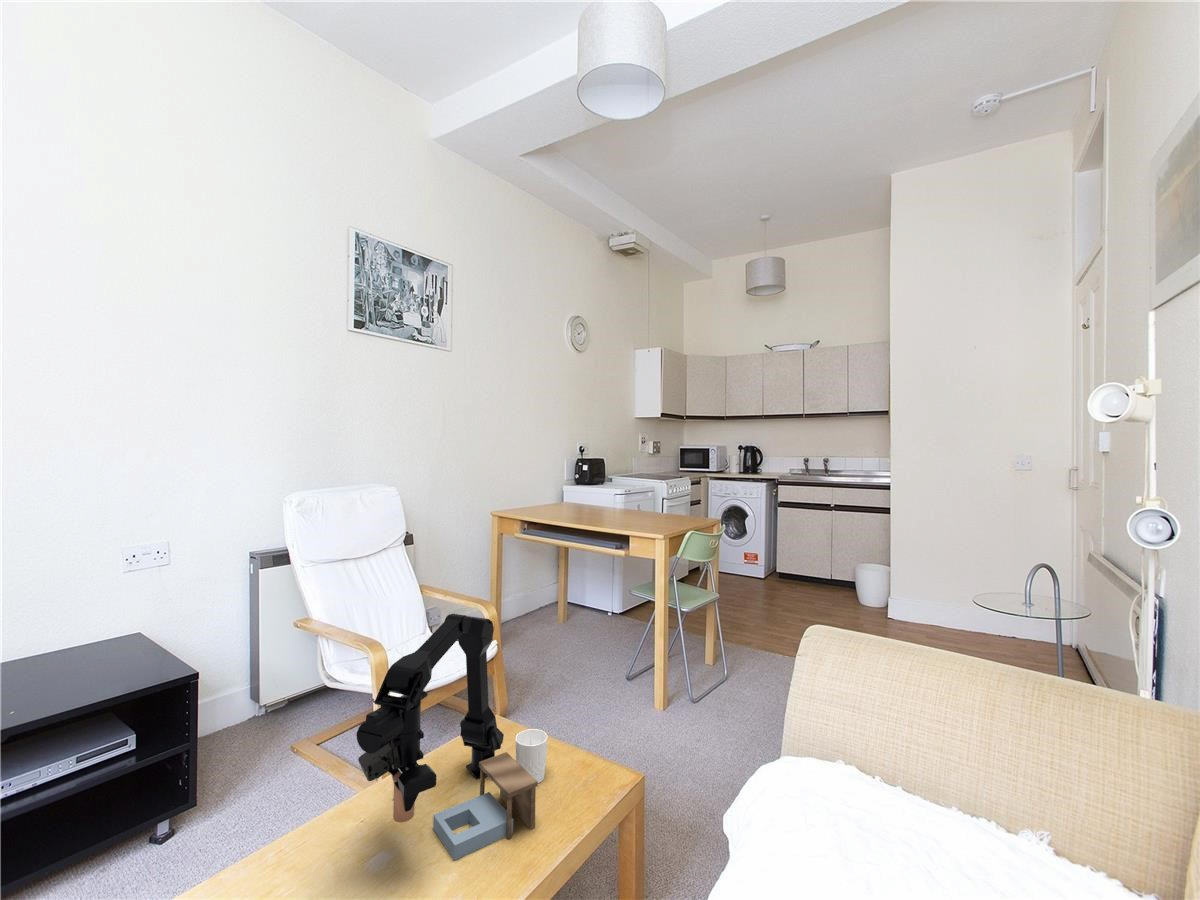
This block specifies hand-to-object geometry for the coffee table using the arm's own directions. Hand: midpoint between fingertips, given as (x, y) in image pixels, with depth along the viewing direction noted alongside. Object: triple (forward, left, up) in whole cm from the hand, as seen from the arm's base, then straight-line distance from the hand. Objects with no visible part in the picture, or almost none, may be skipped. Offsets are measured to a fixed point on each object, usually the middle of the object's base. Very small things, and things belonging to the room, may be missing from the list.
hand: (404, 804), depth 109 cm
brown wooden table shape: (+3, +22, -9) cm, 24 cm away
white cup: (-6, +33, -10) cm, 35 cm away
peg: (0, 0, -2) cm, 2 cm away
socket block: (+3, +14, -9) cm, 17 cm away
